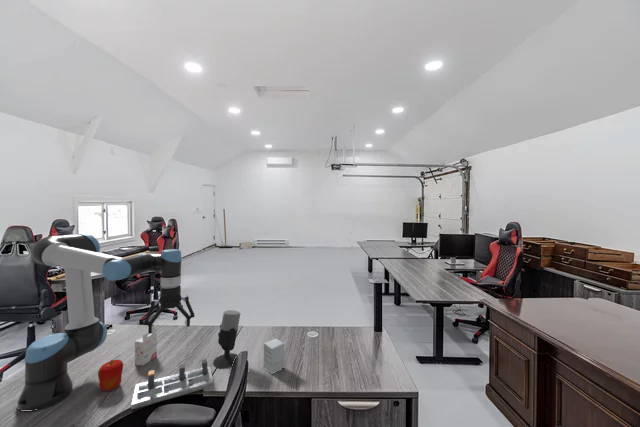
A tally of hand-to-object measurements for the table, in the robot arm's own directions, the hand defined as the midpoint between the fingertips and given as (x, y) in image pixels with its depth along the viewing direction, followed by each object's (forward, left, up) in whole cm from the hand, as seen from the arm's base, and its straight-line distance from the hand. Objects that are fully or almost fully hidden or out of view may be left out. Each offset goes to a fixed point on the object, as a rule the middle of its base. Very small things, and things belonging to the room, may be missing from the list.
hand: (169, 337), depth 110 cm
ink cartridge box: (-11, +29, -22) cm, 38 cm away
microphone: (+25, +10, -22) cm, 35 cm away
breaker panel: (+2, 0, -22) cm, 22 cm away
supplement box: (+44, -7, -22) cm, 50 cm away
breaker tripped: (-6, 0, -20) cm, 21 cm away
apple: (-22, +12, -22) cm, 33 cm away
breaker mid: (+5, 0, -20) cm, 21 cm away
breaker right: (+14, 0, -20) cm, 24 cm away
